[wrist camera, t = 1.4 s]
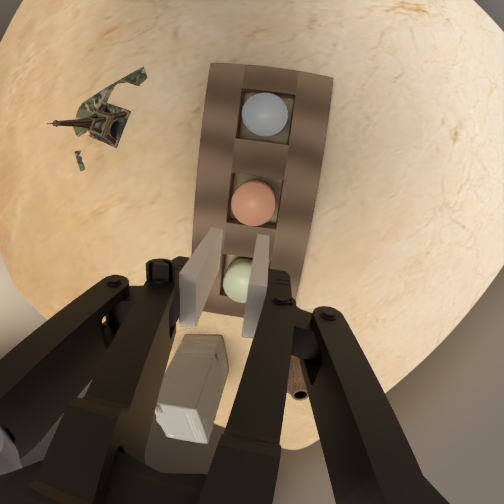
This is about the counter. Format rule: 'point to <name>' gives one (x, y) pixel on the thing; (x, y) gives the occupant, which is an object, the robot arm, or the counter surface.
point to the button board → (259, 168)
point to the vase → (296, 380)
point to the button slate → (265, 114)
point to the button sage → (238, 279)
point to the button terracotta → (253, 203)
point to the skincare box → (193, 388)
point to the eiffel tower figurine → (102, 115)
